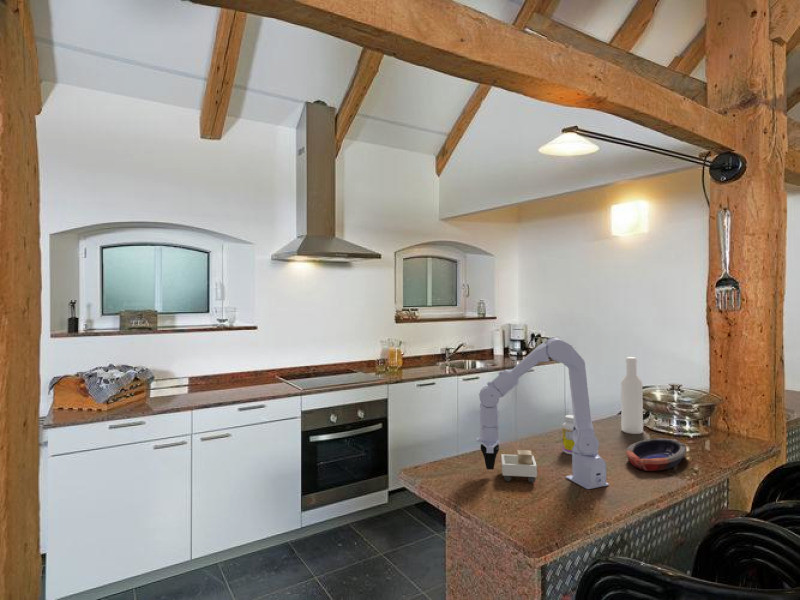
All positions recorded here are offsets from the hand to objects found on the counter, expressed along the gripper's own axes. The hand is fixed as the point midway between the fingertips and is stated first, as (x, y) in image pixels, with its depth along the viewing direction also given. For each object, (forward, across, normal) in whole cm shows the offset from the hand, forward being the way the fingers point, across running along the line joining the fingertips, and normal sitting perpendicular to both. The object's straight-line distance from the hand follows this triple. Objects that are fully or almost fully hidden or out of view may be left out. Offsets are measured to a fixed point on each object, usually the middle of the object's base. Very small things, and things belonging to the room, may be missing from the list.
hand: (490, 468), depth 146 cm
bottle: (+3, -55, +58) cm, 80 cm away
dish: (+3, -20, +55) cm, 58 cm away
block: (-1, 0, +10) cm, 11 cm away
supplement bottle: (+3, -26, +29) cm, 39 cm away
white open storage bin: (+2, 0, +9) cm, 9 cm away
